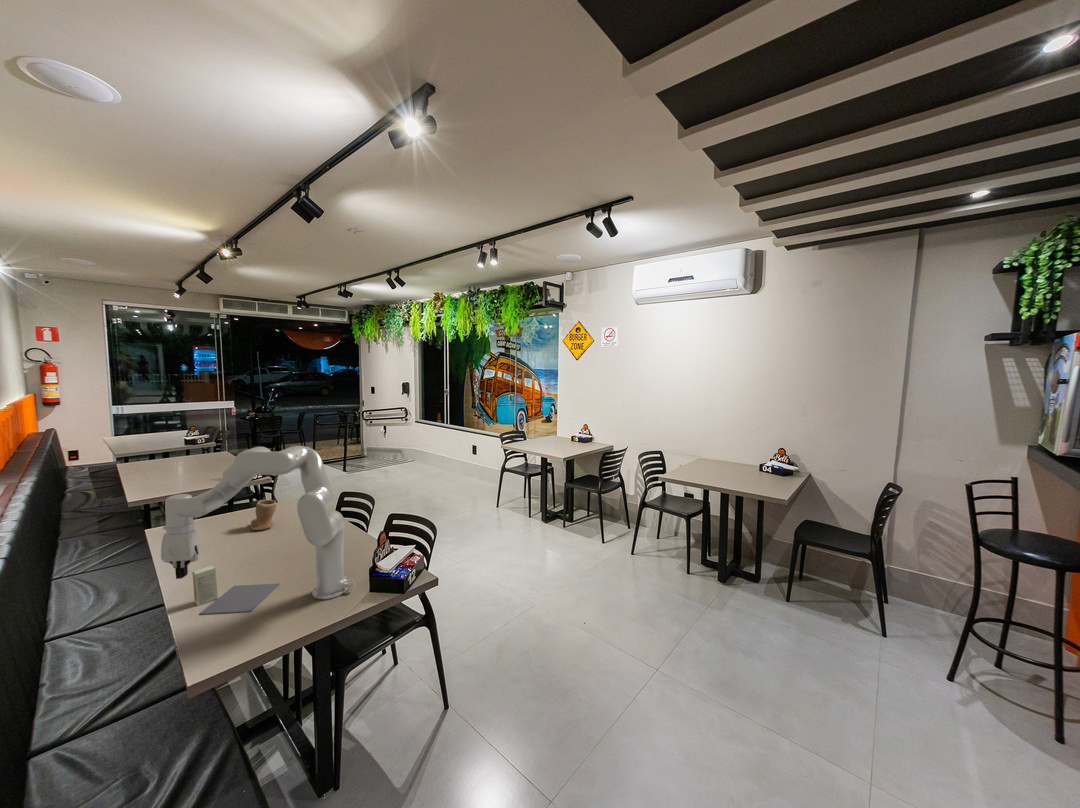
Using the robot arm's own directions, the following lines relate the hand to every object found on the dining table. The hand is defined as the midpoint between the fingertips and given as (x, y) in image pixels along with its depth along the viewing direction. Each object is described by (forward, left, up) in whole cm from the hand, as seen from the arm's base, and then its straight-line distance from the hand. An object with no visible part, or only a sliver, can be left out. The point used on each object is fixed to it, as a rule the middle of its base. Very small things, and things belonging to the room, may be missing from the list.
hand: (181, 576), depth 146 cm
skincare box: (-8, 0, -10) cm, 13 cm away
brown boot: (+13, -77, -10) cm, 79 cm away
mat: (-20, 0, -10) cm, 22 cm away
